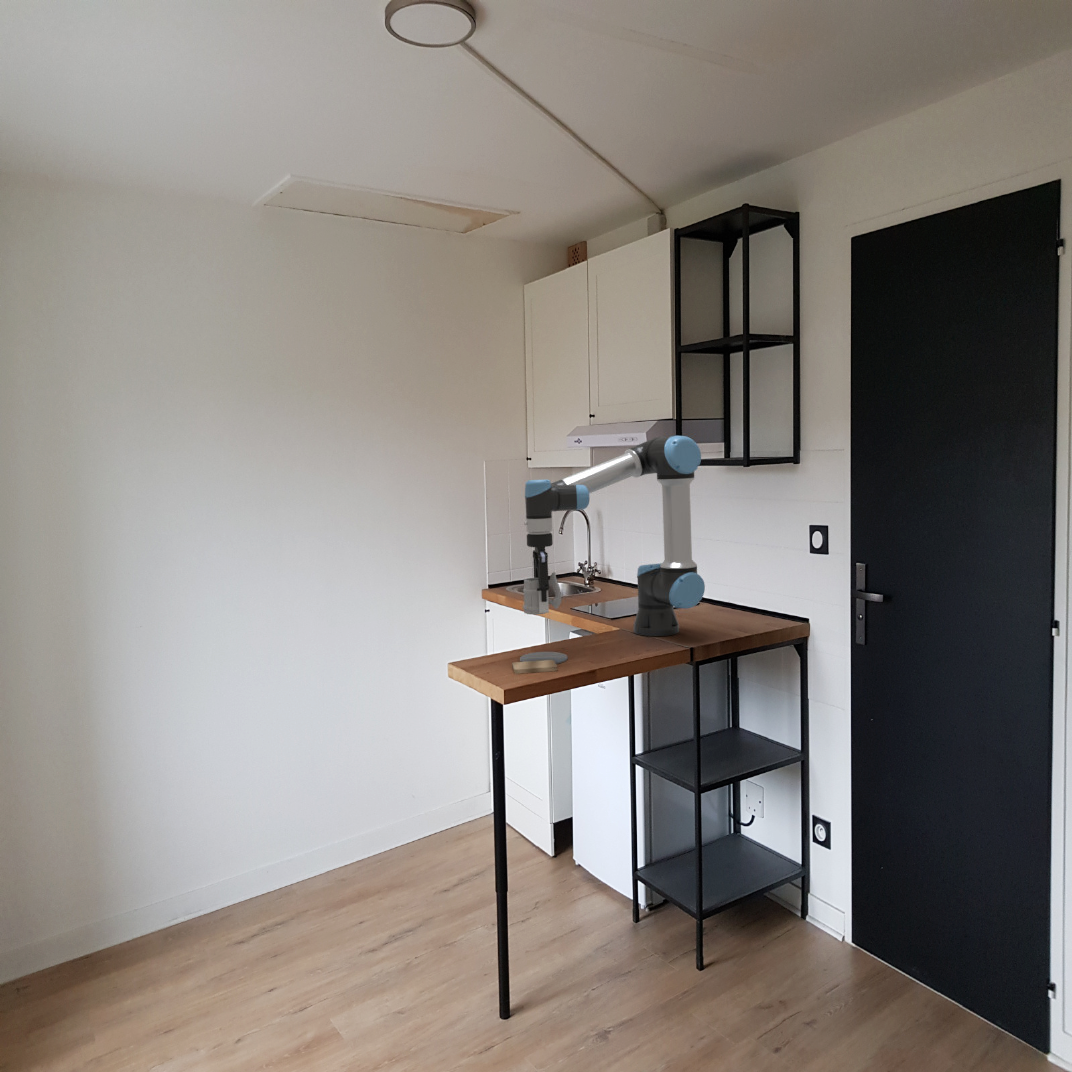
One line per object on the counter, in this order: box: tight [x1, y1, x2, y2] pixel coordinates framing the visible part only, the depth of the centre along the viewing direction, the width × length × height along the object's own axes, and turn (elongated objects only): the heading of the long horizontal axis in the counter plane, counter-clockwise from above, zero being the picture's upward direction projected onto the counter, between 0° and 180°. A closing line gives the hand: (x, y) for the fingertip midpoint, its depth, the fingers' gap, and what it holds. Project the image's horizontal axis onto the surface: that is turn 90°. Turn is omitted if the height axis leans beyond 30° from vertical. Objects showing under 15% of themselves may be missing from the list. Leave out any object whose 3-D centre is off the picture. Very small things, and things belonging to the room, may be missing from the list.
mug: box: [522, 571, 562, 616], centre depth 235 cm, size 8×12×12 cm, turn 73°
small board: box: [511, 660, 559, 675], centre depth 227 cm, size 12×8×1 cm, turn 97°
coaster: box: [519, 651, 568, 665], centre depth 237 cm, size 14×14×1 cm
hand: (542, 609), depth 236 cm, fingers closed on mug, 8 cm apart
